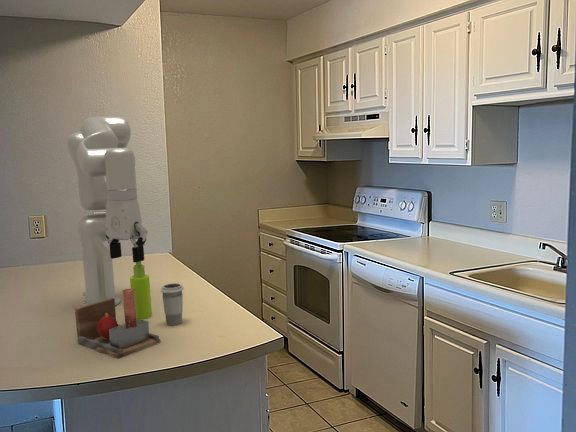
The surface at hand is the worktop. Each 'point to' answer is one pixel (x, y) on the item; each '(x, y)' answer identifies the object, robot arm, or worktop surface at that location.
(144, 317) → the soap dispenser
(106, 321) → the onion
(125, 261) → the worktop surface
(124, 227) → the robot arm
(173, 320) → the cup
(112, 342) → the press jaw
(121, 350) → the frame
